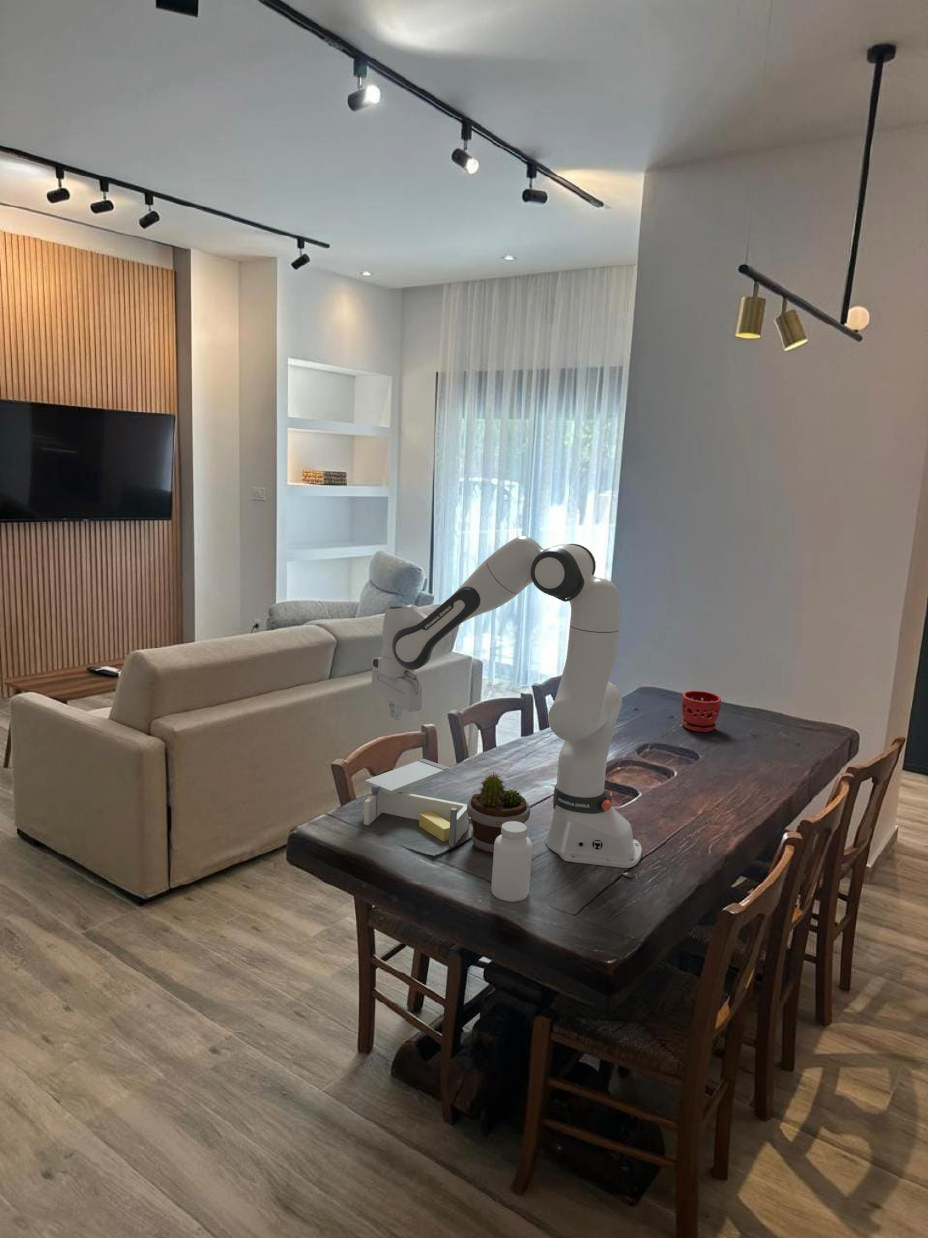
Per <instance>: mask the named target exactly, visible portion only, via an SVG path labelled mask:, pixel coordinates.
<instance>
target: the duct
mask: <svg viewBox="0 0 928 1238" xmlns="http://www.w3.org/2000/svg"><path fill="white" fill-rule="evenodd" d="M363 803H364V806H363V808H364V809H363V825H365V826H369V825H370V824H371V823H372V822H374V821H375V820H376V819H377V818H379V816H380V815H382V814H386V815H393V816H397V817H401V818H402V817H403V818H407V819H412V820H417V821H419V817H420V814H421V813H425V812H428V811H432V812H434V813H435V814H437V815H439V816H440V817H442V818H443V819H445V820H447V821H448V822H450V832H449V840H448V846H449V847H455V846H456V844H457V843H458V842H459V841H460V839H462V837H463V836H464V835H463V834H466V833H467V831H468V830H469V829H468V828H470V819H471V818H470V817H469V816H468V813H467V805H468V803H462V802H458V801H450V800H447V799H442V798H441V799H440V798H436V797H430V796H425V795H419V794H414V793H411V792H410V793H409V792H404V791H401V792H398V793H396V794H393V795H389V794H386V793H384V792H381V791H378V792H372V791H371V795H370V796H369V797H368V798H367V799H365V800H364V802H363ZM467 829H468V830H467ZM462 835H463V836H462ZM461 836H462V837H461ZM458 840H459V841H458Z"/></svg>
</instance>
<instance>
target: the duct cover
mask: <svg viewBox="0 0 928 1238" xmlns="http://www.w3.org/2000/svg"><path fill="white" fill-rule="evenodd" d="M449 773H450V767H449V766H445V765H443V764H439V763H436V762H433V761H431V760H428V759H425V758H420V759H418V760H416V761H414V762H411V763H408V764H406V765H403V766H400V767H397V768H395V769H392V770H389V771H387V772H384V773H381V774H379V775H375V776H372V777H370V778H367V779H364V785H365V786H366V787H369V788H370V791H371V793H372V792H378V791H381V792H384V793H386V794H389V795H393V794H396V793H398V792H404V791H405V790H408V789H411V788H413V787H416V786H418V785H420V784H423V783H425V782H428V781H430V780H431V781H432V780H433V779H436V778H438V777H441V776H443V775H446V774H449Z"/></svg>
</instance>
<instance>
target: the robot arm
mask: <svg viewBox="0 0 928 1238" xmlns="http://www.w3.org/2000/svg"><path fill="white" fill-rule="evenodd" d="M596 566H597V565H596V560H595V557H594V555H593V552H591V551H590V550H589V549H588V548H587V547H585V546H583V545H581V544H577V543H562V544H556V545H553V546H551V547H548V548H547V547H546V548H543V546H541V545H540V544H539V543H538V542H537V541H536V539H533V538H532V537H529V536H527V535H521V536H517V537H515V538H513V539H511V540H510V541H508V542H507V543H505V544H503V545H501V547H500V548H498V549H497V550H496V551H494V552H493V553H492V554H491V555H490V556H489V557H487V558H486V559H485V560H484V561H483V562H482V563H481V564H480V565H479V566H478V567H477V568H476V569H475V570H474V571H473V572H472V574H470V576H469V577H468V578H467V579H466V580H465V581H464V582H463V583H462V584H461V585H460V587H459V588H457V590H456V591H455V592H453V594H451V596H450V597H449V598H447V599H446V600H445V601H444V602H443V603H441V605H440V606H438V607H437V608H436V609H435V610H434V611H432V612H431V613H430V614H429V615H426V613H424V612H422V611H421V610H420V609H419V607H418V606H417V605H416V604H413V603H398V604H395V605H394V604H393V605H391V606H389V607H388V608H386V610H385V613H384V616H383V623H382V635H381V639H382V649H381V653H380V656H378V657H372V659H371V666H372V667H373V668H372V669H371V670H372V671H371V687H372V690H373V692H374V693H375V694H377V695H379V696H381V697H383V698H384V699H386V700H387V707H388V710H389V713H388V714H389V718H392V719H393V720H395V721H398V720H401V718H402V712H403V711H406V712H408V713H413V712H419V711H420V710H421V709H422V707H423V689H422V684H421V682H420V680H419V679H418V676H417V675H416V670H419V669H421V668H422V667H424V666H425V665H427V664H429V663H431V662H434V661H437V660H439V659H440V658H443V657H444V656H445V655H447V654H449V653H450V651H451V649H452V648H453V646H454V645H453V644H454V635H453V631H454V630H455V629H456V628H458V626H460V625H461V624H463V623H464V622H466V621H468V620H470V619H472V618H474V617H477V616H480V615H482V614H485V613H488V612H490V611H494V610H496V609H498V608H499V607H502V606H503V605H505V604H506V603H508V602H509V601H511V600H512V599H514V598H515V597H516V596H517V595H519V594H520V593H521V592H522V591H523V590H524V589H526V587H528V586H529V585H531V584H532V583H533V585H534V586H535V587H536V588H537V589H538V590H539V591H540V592H542V593H543V594H546V595H548V596H551V597H554V598H555V599H557V600H560V601H562V602H565V603H566V602H569V604H570V619H569V630H568V631H569V632H568V640H567V641H568V642H567V651H566V658H565V663H564V666H563V670H562V673H561V678H560V681H559V685H558V687H557V693H556V696H555V698H554V700H553V703H552V705H551V706H550V709H549V711H548V715H547V719H548V725H549V728H550V729H551V731H552V733H553V734H554V735H555V736H556V737H558V738H559V739H561V740H562V741H563V745H562V747H561V749H560V751H559V754H558V761H557V762H558V763H557V774H556V775H557V776H556V784H555V786H554V789H553V794H552V795H553V797H552V805H553V806H552V808H553V813H552V818H551V822H550V826H549V829H548V832H547V835H546V837H545V840H544V841H545V845H546V846H547V848H548V849H550V850H551V851H553V852H554V853H556V854H558V855H559V857H560V858H561V859H562V860H563V861H564V862H570V863H578V864H586V865H587V864H588V865H597V866H605V867H612V868H613V867H614V868H621V869H622V868H623V869H630V868H633V867H635V866H636V865H638V863H639V862H640V861H641V858H642V854H643V851H642V850H643V849H642V848H643V847H642V845H641V843H640V842H639V841H638V840H637V839H636V838H635V839H634V836H633V829H632V825H631V824H630V821H628V820H627V819H626V818H625V817H624V816H623V815H622V814H620V813H619V812H618V811H617V810H615V809H614V807H613V806H612V804H613V792H612V791H610V793H609V792H608V791H607V790H606V789H605V782H606V781H605V780H606V771H607V762H608V761H607V760H608V757H609V753H610V747H611V744H612V740H613V737H614V733H615V728H616V724H617V721H618V716H619V714H620V712H621V710H622V709H621V708H622V705H623V696H622V693H621V691H620V690H619V688H618V687H617V686H616V685H615V684H614V683H612V682H610V681H609V680H610V677H611V675H612V673H613V670H614V668H615V665H616V662H617V651H618V643H619V633H620V624H621V623H620V622H621V606H620V594H619V589H618V587H617V586H616V585H615V584H614V583H613V582H612V581H610V580H608V579H606V578H601V577H596V576H595V573H596V569H597V567H596Z"/></svg>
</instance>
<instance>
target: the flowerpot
mask: <svg viewBox="0 0 928 1238" xmlns="http://www.w3.org/2000/svg"><path fill="white" fill-rule="evenodd" d="M496 772H497V771H496ZM496 772H495V771H494V770H493V771H492V774H489V775H488V774H487V775H485V776H484V777H483V779H484V780H483V781H481V782H479V783H480V785H481V786H482V787H479V793H474V794H473V795H472V797H470V799H469V800H468V801H467V804H468V805H467V813H468V816H469V817H470V818H469V819H470V821H471V826H472V830H471V832H470V833H471V834H470V836H471V841H472V843H473V845H474V846H475V848H476V849H477V850H478V851H480V852H483V853H484V854H486V855H489V856H493V855H494V843H495V840H496V838H497V837H498V836H499V835H501V826H502V824H503V823H505V822H509V821H516V822H521V823H523V824H525V823H526V822H528V820H529V819H530V816H531V809H530V805H529V803H528V802H527V801H526V798H524V796H522V795H521V791H520V790H519V788H517V789H516V788H514V789H509V790H507V789H506V787H505V786H504V783H505V781H506V780H504V779H503V778H501V776H499V773H496ZM505 784H506V783H505ZM515 789H516V790H515ZM517 790H519V791H517Z"/></svg>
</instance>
